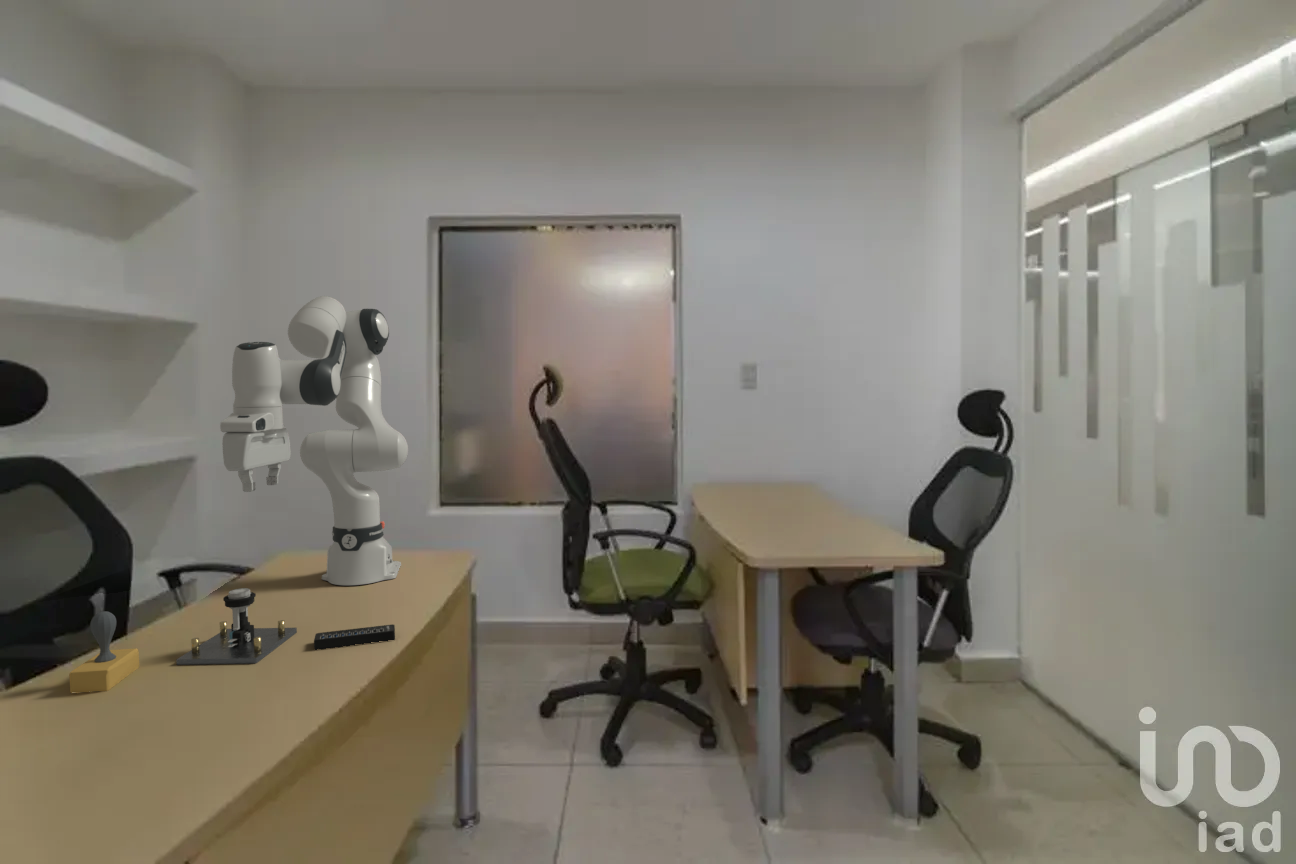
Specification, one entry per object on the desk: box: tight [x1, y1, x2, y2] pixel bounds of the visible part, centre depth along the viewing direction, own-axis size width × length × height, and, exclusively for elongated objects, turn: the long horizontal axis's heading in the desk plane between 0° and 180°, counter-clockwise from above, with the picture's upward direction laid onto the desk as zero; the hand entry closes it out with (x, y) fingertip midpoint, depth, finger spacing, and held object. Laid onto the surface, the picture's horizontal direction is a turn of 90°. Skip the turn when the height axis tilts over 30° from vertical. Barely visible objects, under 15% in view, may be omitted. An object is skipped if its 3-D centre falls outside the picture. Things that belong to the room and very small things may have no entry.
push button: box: [223, 587, 256, 647], centre depth 133 cm, size 7×5×10 cm
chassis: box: [175, 619, 298, 666], centre depth 133 cm, size 16×14×4 cm
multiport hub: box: [313, 624, 396, 651], centre depth 137 cm, size 4×14×2 cm, turn 111°
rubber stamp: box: [68, 610, 140, 694], centre depth 118 cm, size 10×6×12 cm, turn 11°
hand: (261, 488), depth 144 cm, fingers open, 8 cm apart
